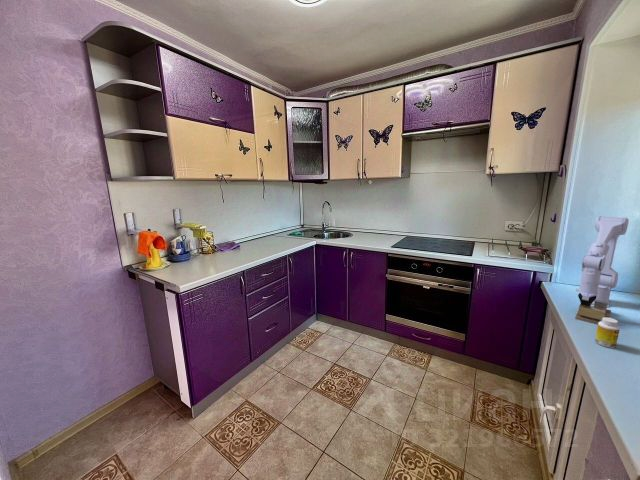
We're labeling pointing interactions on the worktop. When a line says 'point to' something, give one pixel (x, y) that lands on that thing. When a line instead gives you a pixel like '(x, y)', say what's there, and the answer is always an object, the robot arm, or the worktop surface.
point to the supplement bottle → (607, 332)
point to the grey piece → (600, 305)
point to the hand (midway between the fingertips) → (584, 310)
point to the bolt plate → (592, 320)
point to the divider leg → (591, 312)
